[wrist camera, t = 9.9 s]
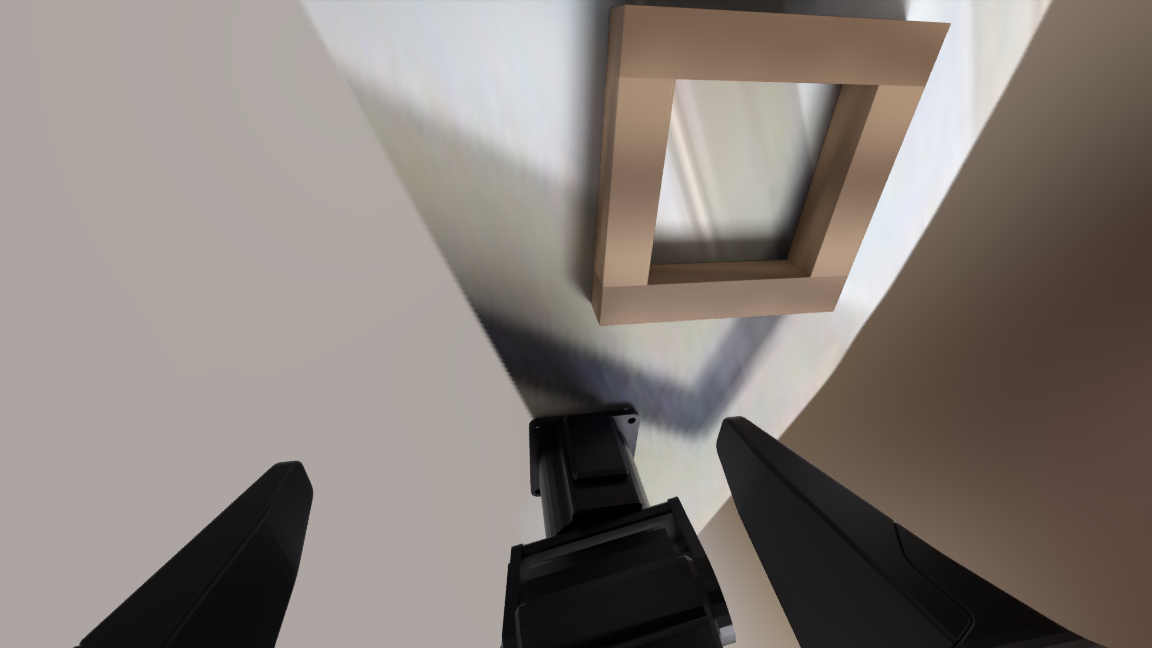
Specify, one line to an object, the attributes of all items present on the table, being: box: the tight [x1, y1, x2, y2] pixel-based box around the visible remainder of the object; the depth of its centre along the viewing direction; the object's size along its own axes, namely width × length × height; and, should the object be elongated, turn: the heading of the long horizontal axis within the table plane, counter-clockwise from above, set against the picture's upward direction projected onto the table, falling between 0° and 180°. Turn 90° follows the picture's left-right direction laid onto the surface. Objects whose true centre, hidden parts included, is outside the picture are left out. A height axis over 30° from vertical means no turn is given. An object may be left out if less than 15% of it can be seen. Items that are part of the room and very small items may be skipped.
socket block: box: [591, 5, 951, 326], centre depth 19 cm, size 12×12×2 cm
